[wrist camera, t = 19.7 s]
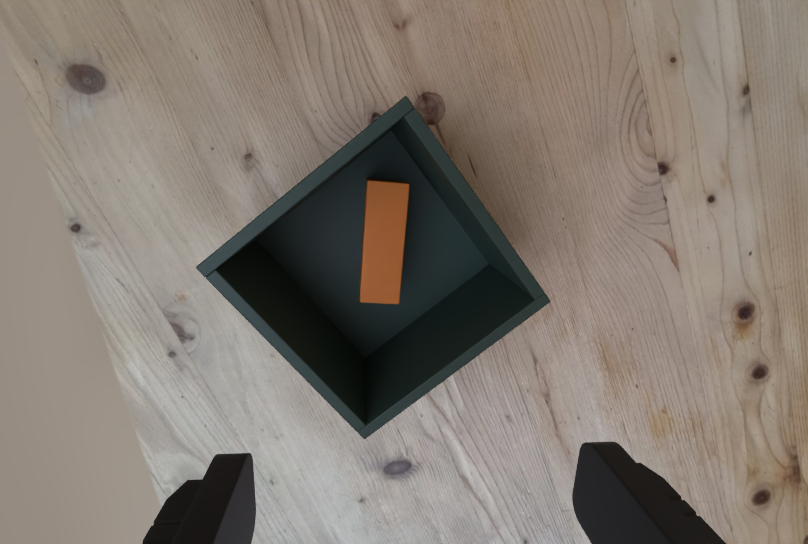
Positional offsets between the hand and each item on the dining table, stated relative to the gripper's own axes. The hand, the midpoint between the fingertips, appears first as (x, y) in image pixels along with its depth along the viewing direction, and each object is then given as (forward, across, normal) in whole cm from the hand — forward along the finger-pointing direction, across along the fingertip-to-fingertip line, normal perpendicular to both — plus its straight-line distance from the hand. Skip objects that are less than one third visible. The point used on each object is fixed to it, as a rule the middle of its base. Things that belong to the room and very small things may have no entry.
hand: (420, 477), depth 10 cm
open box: (+27, 0, 0) cm, 27 cm away
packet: (+24, 0, +3) cm, 24 cm away
